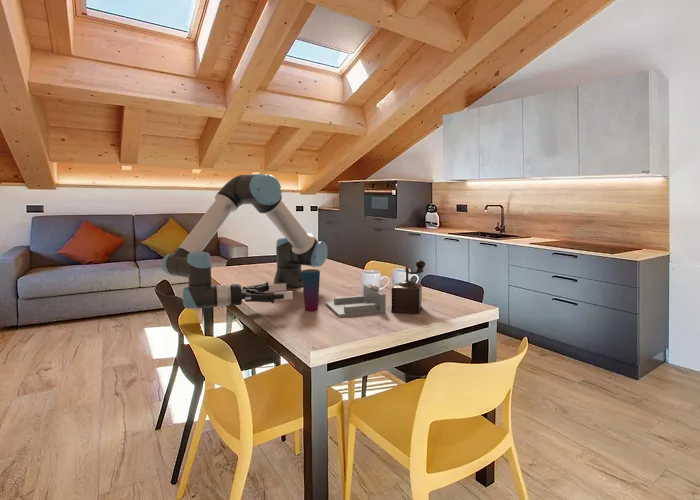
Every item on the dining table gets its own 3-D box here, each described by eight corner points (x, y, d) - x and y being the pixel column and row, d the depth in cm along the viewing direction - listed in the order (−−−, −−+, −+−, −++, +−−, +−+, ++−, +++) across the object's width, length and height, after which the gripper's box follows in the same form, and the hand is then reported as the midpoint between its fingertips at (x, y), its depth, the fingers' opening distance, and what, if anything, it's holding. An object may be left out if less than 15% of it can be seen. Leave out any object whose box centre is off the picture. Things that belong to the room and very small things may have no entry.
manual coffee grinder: (420, 315, 153) (421, 266, 150) (390, 312, 156) (391, 264, 153) (425, 304, 167) (426, 259, 165) (397, 302, 170) (398, 258, 168)
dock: (325, 304, 166) (325, 283, 165) (368, 300, 172) (368, 280, 171) (338, 317, 149) (338, 293, 148) (385, 312, 155) (385, 290, 154)
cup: (317, 312, 156) (317, 272, 154) (300, 311, 157) (299, 272, 155) (322, 307, 162) (322, 269, 160) (305, 306, 163) (305, 268, 161)
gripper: (228, 297, 161) (283, 293, 168) (232, 314, 138) (295, 309, 144) (228, 278, 160) (283, 274, 167) (231, 292, 137) (295, 288, 143)
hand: (289, 290), depth 156 cm, fingers open, 13 cm apart
